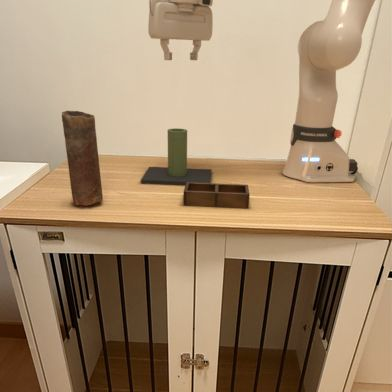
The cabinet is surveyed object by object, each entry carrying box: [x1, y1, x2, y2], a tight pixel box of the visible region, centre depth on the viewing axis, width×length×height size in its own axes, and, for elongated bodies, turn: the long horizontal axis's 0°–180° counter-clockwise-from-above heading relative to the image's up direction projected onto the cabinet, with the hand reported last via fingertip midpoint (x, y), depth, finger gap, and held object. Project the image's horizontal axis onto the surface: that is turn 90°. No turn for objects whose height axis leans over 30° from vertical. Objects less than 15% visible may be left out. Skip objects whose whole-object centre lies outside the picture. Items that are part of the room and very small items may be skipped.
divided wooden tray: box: [183, 182, 250, 209], centre depth 106 cm, size 16×9×4 cm, turn 87°
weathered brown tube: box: [61, 110, 104, 207], centre depth 97 cm, size 8×7×20 cm
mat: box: [140, 166, 212, 186], centre depth 124 cm, size 20×16×1 cm
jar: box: [167, 127, 188, 177], centre depth 120 cm, size 6×6×12 cm
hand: (181, 60), depth 115 cm, fingers open, 8 cm apart
